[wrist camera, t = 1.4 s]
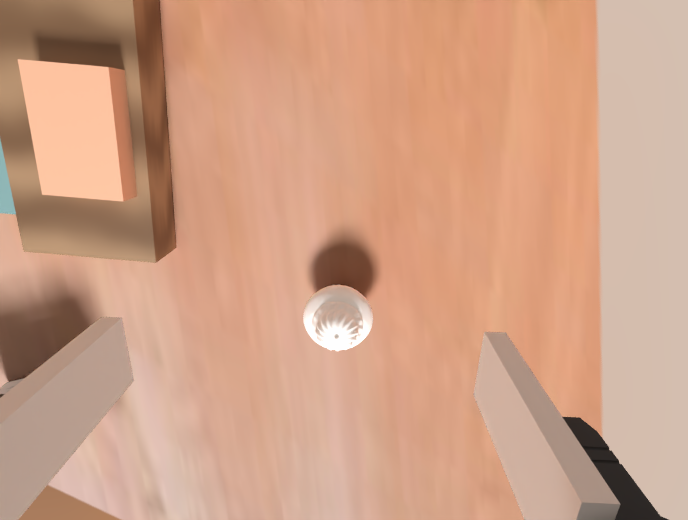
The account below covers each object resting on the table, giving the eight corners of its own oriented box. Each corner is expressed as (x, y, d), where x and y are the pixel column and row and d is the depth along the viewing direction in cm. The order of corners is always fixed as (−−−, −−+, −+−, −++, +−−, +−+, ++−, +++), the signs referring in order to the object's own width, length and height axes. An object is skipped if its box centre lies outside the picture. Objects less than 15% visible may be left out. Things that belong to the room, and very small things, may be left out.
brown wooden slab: (13, -17, 30) (-36, -35, 26) (159, -4, 30) (130, -21, 26) (57, 237, 37) (23, 251, 33) (176, 247, 37) (155, 262, 33)
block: (39, 62, 28) (17, 59, 26) (124, 70, 28) (108, 67, 26) (60, 189, 31) (42, 194, 29) (137, 196, 31) (123, 201, 29)
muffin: (366, 332, 40) (367, 376, 33) (304, 324, 39) (294, 366, 33) (376, 275, 37) (380, 309, 31) (311, 266, 37) (302, 299, 31)
